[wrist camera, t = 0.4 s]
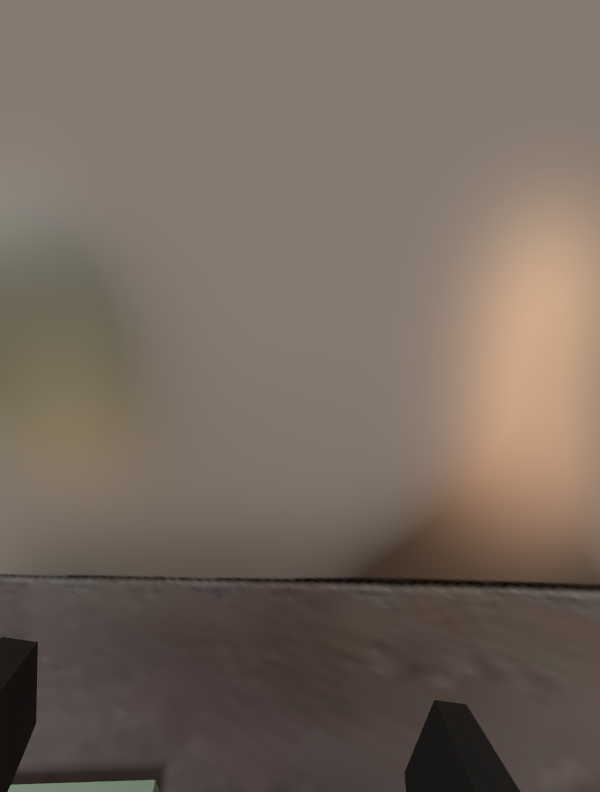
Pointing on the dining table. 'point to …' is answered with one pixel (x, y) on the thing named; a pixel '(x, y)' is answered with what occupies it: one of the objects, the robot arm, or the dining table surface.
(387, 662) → the dining table surface
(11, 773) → the robot arm
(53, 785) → the board
